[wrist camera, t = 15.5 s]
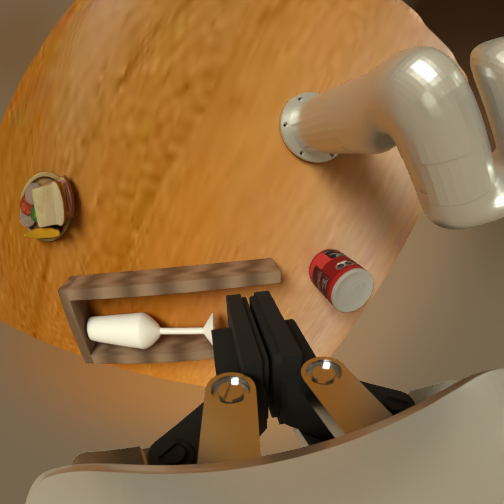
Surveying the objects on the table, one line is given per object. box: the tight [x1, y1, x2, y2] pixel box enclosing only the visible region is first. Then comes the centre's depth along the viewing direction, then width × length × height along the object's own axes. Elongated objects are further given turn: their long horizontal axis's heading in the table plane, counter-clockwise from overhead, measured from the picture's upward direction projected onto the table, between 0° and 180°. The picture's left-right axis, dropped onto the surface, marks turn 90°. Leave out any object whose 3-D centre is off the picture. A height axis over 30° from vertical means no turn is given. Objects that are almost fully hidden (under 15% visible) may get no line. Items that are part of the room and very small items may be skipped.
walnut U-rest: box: [58, 258, 281, 364], centre depth 45 cm, size 38×16×6 cm, turn 92°
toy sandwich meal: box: [20, 172, 75, 242], centre depth 36 cm, size 12×14×5 cm
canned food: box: [309, 249, 374, 313], centre depth 46 cm, size 8×8×11 cm
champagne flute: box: [87, 312, 215, 349], centre depth 45 cm, size 7×7×24 cm
